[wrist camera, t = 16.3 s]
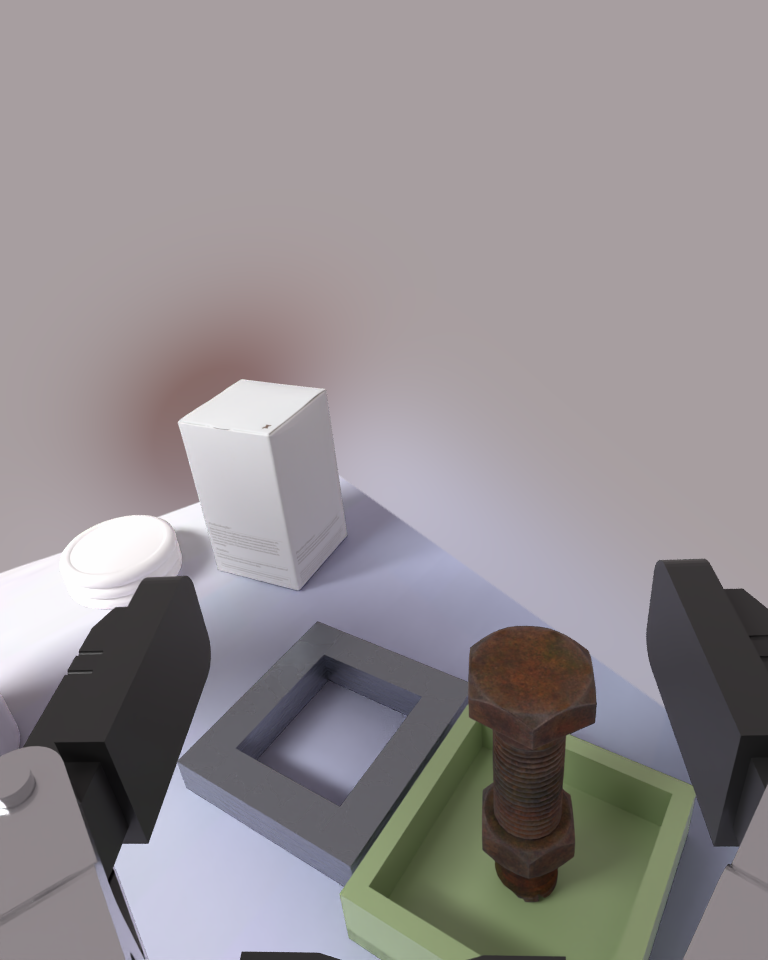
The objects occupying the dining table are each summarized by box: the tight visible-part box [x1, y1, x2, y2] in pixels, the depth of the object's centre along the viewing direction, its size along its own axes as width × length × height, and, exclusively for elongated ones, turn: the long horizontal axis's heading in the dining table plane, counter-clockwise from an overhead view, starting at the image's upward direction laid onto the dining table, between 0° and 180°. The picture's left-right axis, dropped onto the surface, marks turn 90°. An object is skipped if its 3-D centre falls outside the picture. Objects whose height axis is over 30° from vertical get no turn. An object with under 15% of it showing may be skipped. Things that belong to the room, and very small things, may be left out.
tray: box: [340, 705, 696, 960], centre depth 37 cm, size 13×14×4 cm
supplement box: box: [178, 379, 347, 590], centre depth 62 cm, size 9×9×15 cm
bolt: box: [468, 626, 597, 903], centre depth 34 cm, size 6×5×15 cm
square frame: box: [177, 621, 468, 887], centre depth 46 cm, size 13×14×2 cm
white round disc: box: [60, 515, 182, 609], centre depth 64 cm, size 10×10×4 cm
